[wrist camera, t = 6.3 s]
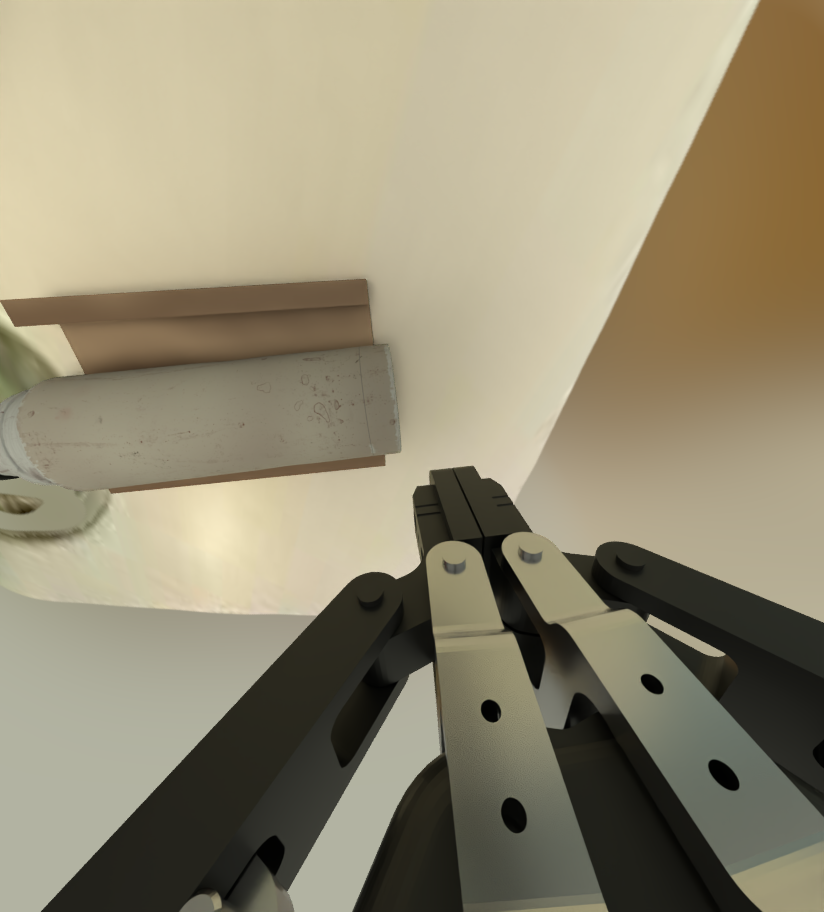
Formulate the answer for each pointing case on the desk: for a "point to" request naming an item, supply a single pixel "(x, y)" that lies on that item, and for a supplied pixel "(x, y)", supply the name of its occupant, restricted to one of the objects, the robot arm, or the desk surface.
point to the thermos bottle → (201, 419)
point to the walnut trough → (208, 336)
